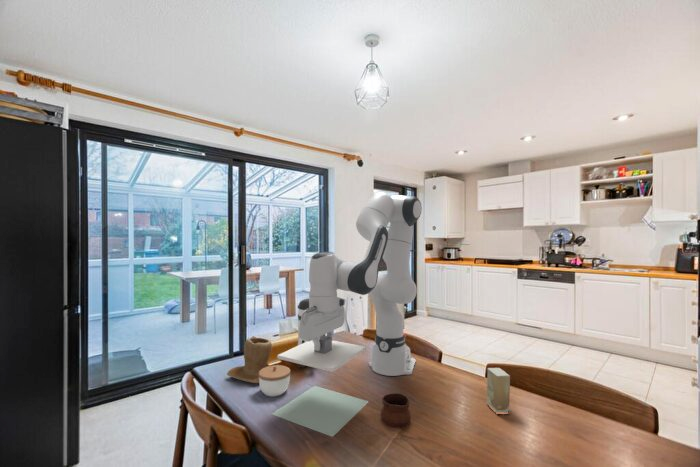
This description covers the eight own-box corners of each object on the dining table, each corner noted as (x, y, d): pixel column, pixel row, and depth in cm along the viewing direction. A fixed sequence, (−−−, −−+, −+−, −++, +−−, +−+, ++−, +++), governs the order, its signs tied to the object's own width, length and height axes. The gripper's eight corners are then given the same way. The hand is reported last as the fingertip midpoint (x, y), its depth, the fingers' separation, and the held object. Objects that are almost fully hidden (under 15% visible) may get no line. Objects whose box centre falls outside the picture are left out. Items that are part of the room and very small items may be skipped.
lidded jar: (282, 403, 105) (283, 374, 106) (252, 399, 108) (252, 371, 108) (294, 388, 116) (295, 361, 116) (267, 385, 118) (267, 359, 118)
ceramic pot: (426, 445, 85) (425, 417, 85) (359, 435, 89) (359, 409, 89) (427, 411, 102) (426, 388, 102) (371, 404, 106) (371, 382, 107)
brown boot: (277, 376, 126) (278, 337, 126) (255, 388, 115) (256, 346, 115) (249, 368, 133) (249, 331, 133) (225, 379, 122) (226, 339, 123)
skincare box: (486, 405, 105) (486, 367, 105) (499, 404, 106) (499, 367, 106) (496, 415, 99) (496, 375, 99) (510, 415, 99) (510, 375, 99)
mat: (314, 387, 117) (314, 385, 117) (369, 402, 106) (369, 401, 106) (271, 415, 98) (271, 414, 98) (332, 438, 87) (332, 436, 87)
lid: (316, 340, 116) (316, 326, 116) (365, 349, 106) (365, 334, 106) (277, 358, 99) (277, 342, 99) (332, 372, 89) (332, 353, 89)
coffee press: (285, 365, 136) (286, 294, 137) (310, 354, 150) (311, 289, 150) (316, 375, 126) (317, 298, 127) (340, 363, 140) (341, 293, 140)
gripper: (311, 311, 92) (311, 360, 92) (347, 298, 110) (347, 339, 109) (294, 308, 95) (294, 356, 95) (332, 297, 113) (332, 337, 113)
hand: (323, 347), depth 102 cm, fingers closed on lid, 4 cm apart
